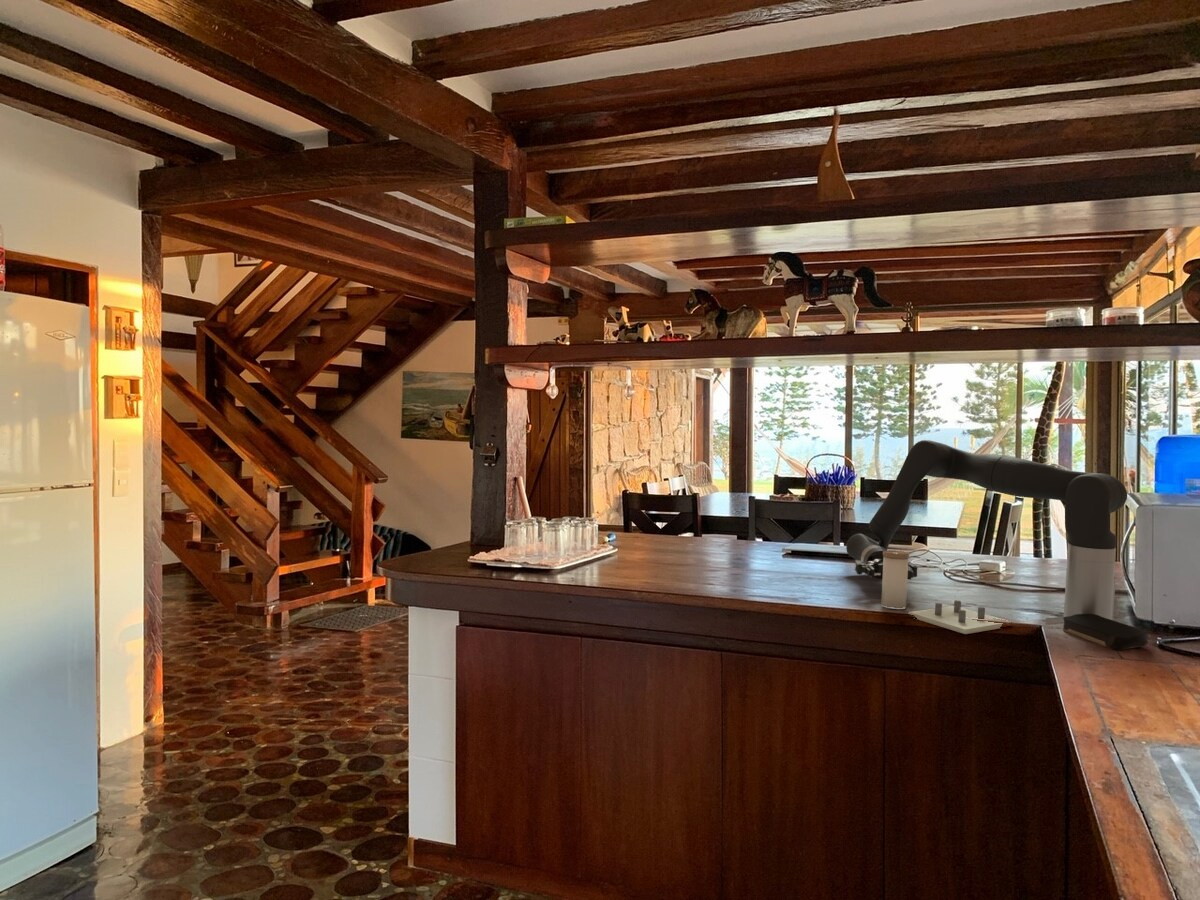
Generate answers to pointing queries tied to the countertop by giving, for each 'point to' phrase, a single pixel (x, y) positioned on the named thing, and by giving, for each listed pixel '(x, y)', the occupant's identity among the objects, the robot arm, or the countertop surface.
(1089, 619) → the black sponge
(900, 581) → the canister
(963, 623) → the plate
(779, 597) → the countertop surface
